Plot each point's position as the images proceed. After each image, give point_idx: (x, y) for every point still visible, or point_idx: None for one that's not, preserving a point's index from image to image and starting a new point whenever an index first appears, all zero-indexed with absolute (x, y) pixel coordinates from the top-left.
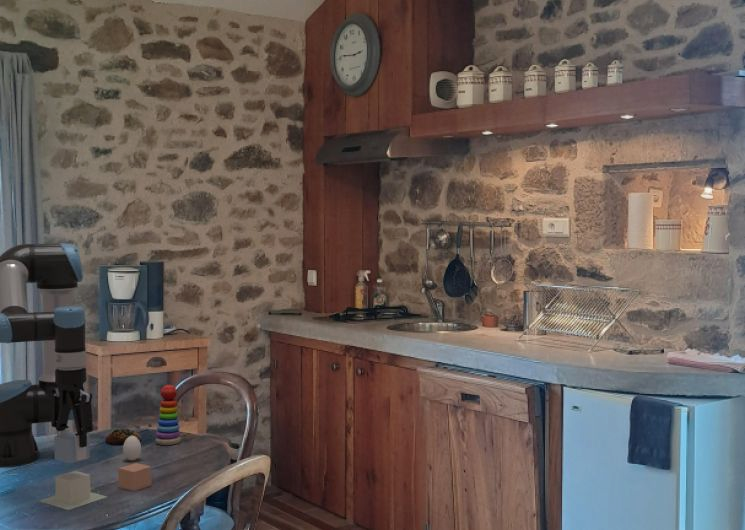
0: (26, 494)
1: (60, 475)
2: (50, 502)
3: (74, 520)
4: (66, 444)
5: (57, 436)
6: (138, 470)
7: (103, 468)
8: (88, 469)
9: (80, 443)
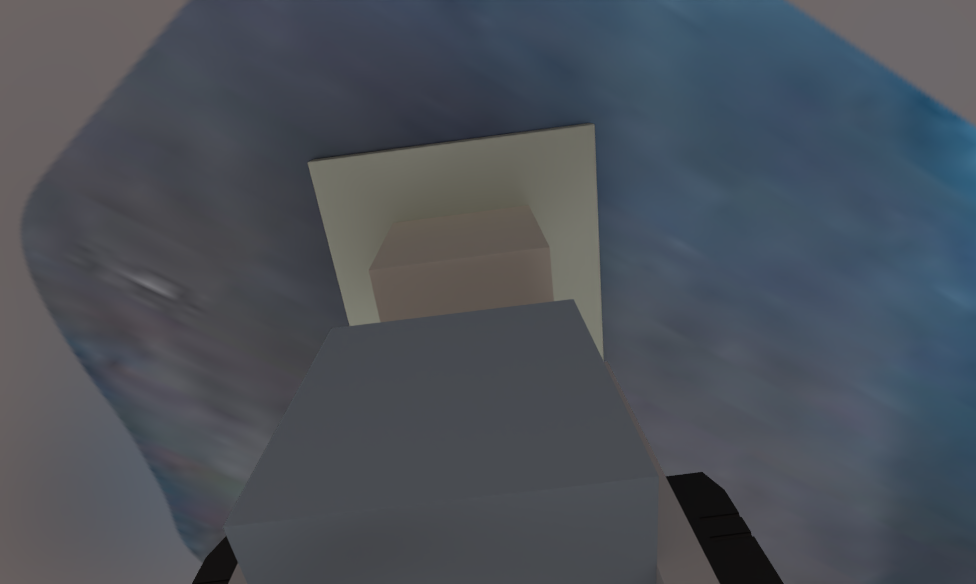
0: (797, 164)
1: (547, 286)
2: (510, 159)
3: (167, 117)
4: (328, 450)
5: (607, 503)
6: None
7: (782, 573)
8: (832, 534)
9: (231, 575)
